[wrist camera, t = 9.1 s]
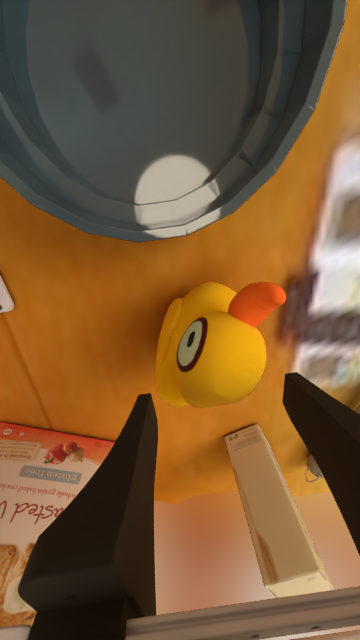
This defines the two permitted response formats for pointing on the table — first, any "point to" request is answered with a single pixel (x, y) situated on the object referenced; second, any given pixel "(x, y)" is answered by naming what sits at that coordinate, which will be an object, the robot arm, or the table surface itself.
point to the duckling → (214, 344)
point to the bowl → (156, 105)
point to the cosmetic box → (274, 519)
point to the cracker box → (36, 498)
